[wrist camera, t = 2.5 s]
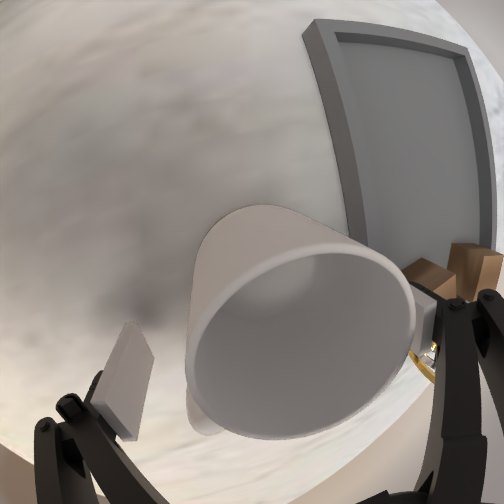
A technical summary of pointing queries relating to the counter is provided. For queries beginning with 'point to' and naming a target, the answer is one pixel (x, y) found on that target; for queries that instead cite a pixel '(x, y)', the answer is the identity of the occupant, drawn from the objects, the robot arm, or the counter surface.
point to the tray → (406, 139)
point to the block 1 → (432, 277)
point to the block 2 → (474, 268)
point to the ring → (424, 360)
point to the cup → (290, 326)
